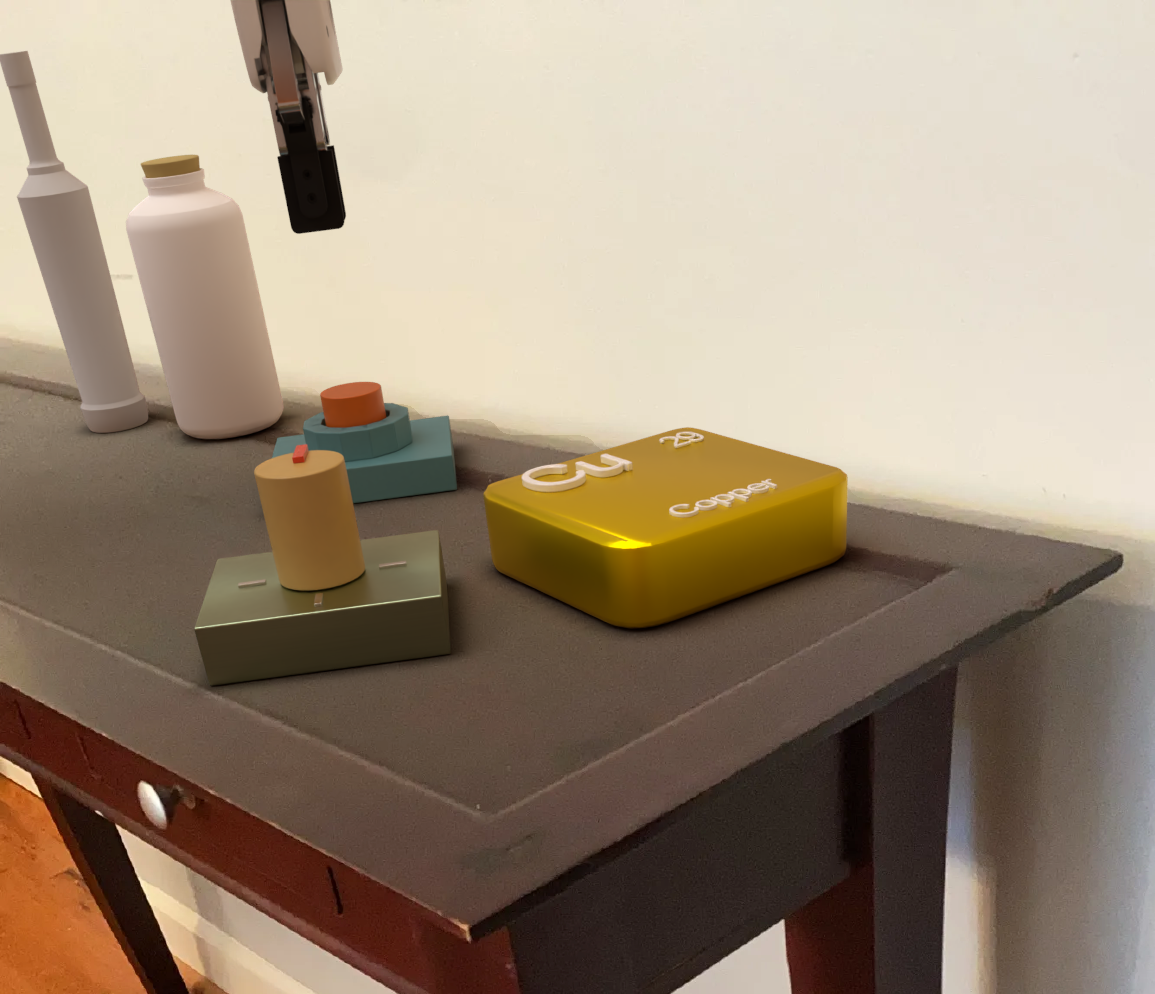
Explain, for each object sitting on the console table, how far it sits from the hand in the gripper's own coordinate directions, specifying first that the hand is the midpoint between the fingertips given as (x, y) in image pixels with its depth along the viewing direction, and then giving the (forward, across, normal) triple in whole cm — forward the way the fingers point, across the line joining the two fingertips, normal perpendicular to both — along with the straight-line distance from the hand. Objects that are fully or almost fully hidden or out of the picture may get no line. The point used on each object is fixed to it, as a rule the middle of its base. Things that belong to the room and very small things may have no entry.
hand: (319, 225), depth 85 cm
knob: (+12, -27, +1) cm, 30 cm away
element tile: (+15, -23, -17) cm, 32 cm away
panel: (+15, -27, +1) cm, 31 cm away
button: (+11, 0, 0) cm, 11 cm away
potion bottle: (+15, +19, +11) cm, 27 cm away
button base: (+15, 0, 0) cm, 15 cm away
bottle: (+15, +25, +21) cm, 36 cm away
